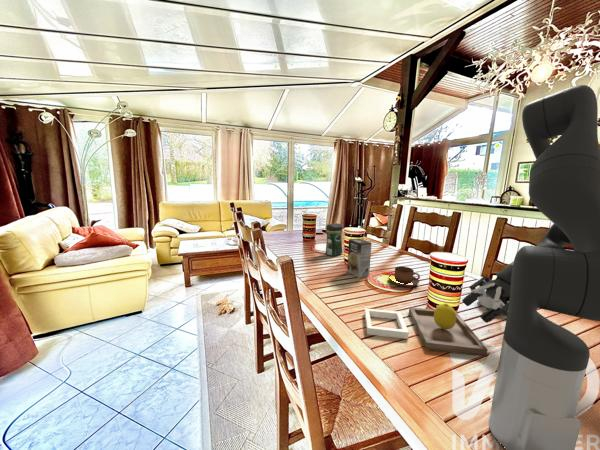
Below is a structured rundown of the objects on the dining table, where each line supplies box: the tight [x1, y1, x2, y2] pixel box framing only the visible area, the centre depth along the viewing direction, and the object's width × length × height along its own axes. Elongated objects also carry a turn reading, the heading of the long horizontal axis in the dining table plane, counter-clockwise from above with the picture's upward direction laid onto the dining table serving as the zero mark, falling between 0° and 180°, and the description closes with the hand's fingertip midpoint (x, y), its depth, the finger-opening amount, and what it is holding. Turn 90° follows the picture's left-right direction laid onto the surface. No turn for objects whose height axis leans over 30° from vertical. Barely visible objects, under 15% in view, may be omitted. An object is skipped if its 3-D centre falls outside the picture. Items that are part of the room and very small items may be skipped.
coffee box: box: [347, 237, 372, 279], centre depth 112 cm, size 9×6×16 cm
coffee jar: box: [325, 222, 343, 257], centre depth 142 cm, size 10×8×19 cm
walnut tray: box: [408, 306, 489, 357], centre depth 70 cm, size 18×14×2 cm
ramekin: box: [477, 286, 508, 311], centre depth 84 cm, size 11×11×5 cm
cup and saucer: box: [388, 265, 421, 287], centre depth 103 cm, size 12×12×6 cm
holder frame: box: [364, 307, 410, 340], centre depth 73 cm, size 11×11×2 cm
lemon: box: [434, 303, 457, 330], centre depth 69 cm, size 6×6×8 cm
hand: (473, 311), depth 68 cm, fingers open, 8 cm apart
